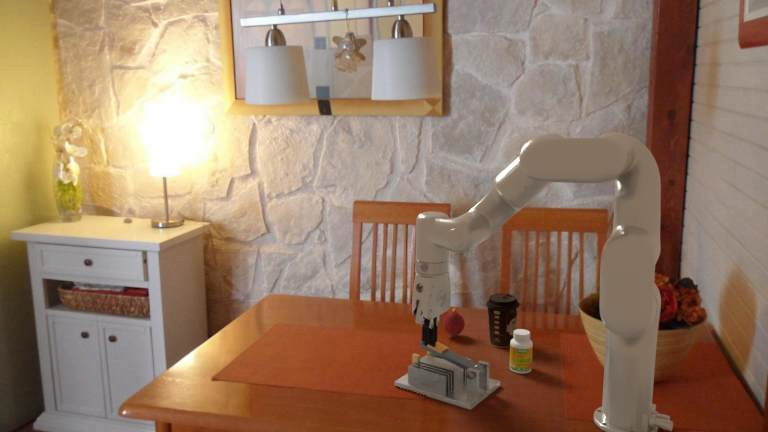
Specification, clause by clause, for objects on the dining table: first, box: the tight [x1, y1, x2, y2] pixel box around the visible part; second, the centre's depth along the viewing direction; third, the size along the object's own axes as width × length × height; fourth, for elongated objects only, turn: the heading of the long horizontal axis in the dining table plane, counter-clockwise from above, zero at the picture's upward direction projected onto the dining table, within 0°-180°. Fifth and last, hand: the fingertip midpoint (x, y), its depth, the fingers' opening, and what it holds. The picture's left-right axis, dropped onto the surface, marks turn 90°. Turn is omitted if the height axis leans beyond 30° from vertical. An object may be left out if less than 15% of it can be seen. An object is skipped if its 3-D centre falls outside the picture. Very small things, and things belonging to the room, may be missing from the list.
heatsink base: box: [394, 350, 501, 411], centre depth 159 cm, size 20×14×7 cm
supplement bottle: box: [509, 328, 534, 375], centre depth 167 cm, size 5×5×10 cm
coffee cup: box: [485, 293, 521, 349], centre depth 182 cm, size 9×8×13 cm
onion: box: [442, 308, 466, 338], centre depth 188 cm, size 6×6×8 cm
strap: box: [419, 340, 486, 376], centre depth 157 cm, size 16×3×2 cm, turn 54°
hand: (429, 341), depth 160 cm, fingers closed
